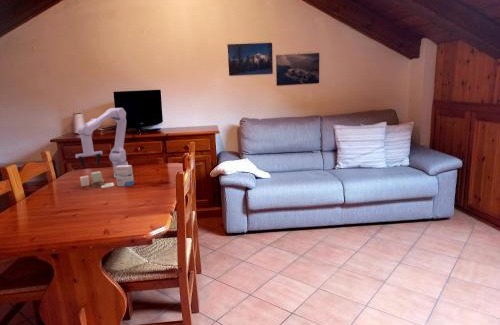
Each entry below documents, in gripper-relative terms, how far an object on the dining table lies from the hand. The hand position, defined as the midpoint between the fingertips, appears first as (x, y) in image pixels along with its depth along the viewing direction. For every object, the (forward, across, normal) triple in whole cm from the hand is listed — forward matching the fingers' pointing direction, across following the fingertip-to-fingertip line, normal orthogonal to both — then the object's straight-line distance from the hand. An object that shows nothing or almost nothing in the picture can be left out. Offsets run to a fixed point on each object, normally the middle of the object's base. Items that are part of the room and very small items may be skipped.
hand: (91, 167), depth 206 cm
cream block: (+10, +5, -2) cm, 12 cm away
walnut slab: (+10, -2, +5) cm, 12 cm away
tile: (+10, -6, +9) cm, 15 cm away
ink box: (+11, -16, +15) cm, 24 cm away
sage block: (+7, -2, +4) cm, 9 cm away
